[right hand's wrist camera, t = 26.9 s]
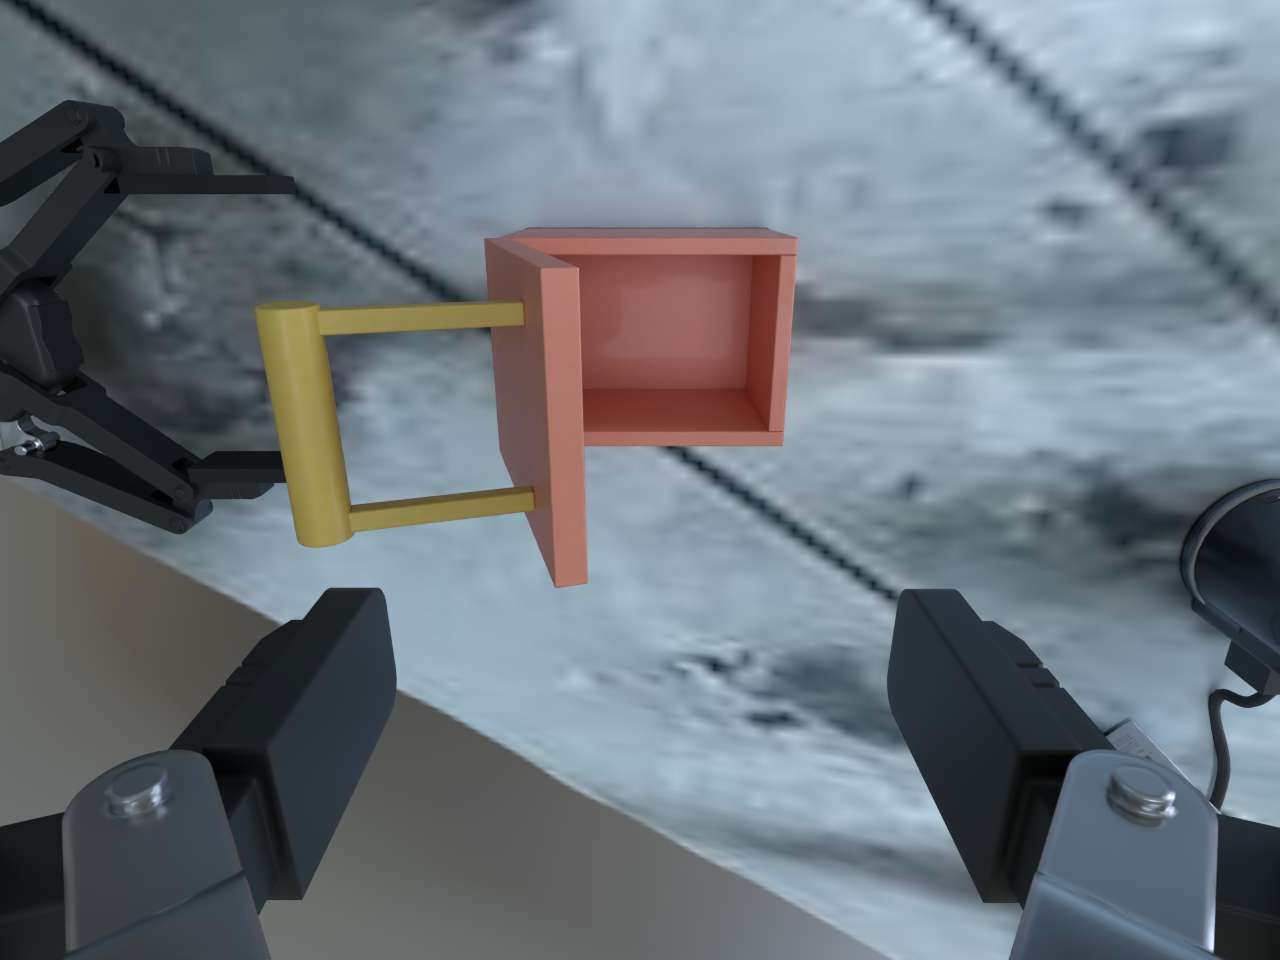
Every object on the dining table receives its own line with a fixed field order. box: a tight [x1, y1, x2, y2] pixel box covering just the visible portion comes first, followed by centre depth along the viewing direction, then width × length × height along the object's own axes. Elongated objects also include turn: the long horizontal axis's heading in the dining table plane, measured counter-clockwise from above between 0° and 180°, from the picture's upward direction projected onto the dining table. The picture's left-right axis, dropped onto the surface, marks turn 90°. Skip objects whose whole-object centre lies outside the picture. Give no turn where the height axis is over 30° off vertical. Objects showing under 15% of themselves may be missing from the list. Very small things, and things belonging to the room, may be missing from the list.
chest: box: [501, 228, 798, 446], centre depth 37 cm, size 13×10×9 cm
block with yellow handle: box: [254, 238, 588, 588], centre depth 26 cm, size 13×10×8 cm
